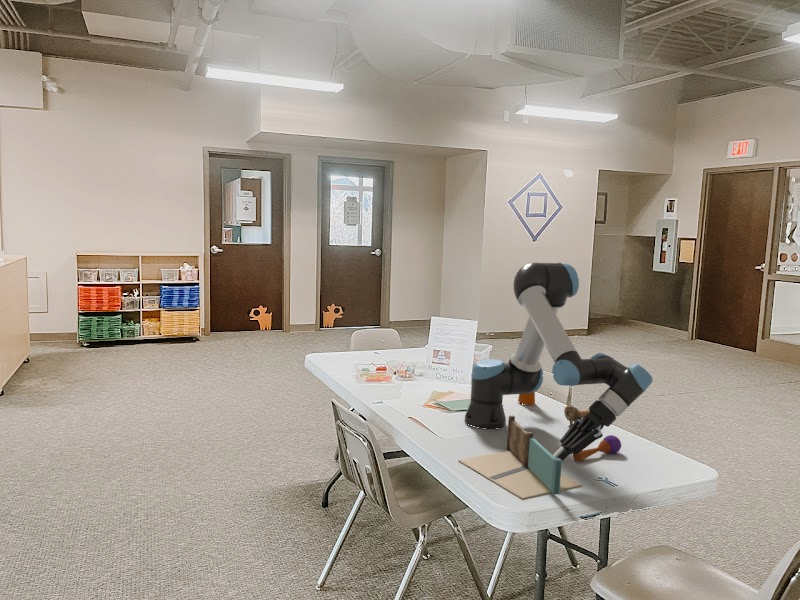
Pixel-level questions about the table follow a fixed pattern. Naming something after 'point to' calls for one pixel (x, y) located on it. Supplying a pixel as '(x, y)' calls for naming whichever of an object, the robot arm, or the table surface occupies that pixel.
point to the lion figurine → (574, 413)
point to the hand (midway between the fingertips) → (549, 465)
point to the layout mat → (513, 474)
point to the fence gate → (545, 466)
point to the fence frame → (518, 440)
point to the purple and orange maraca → (601, 448)
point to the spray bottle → (527, 397)
